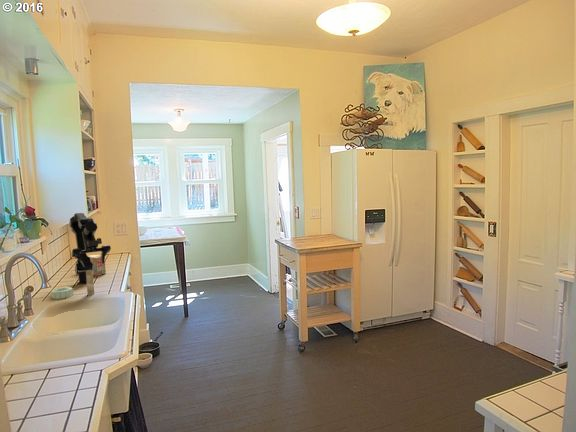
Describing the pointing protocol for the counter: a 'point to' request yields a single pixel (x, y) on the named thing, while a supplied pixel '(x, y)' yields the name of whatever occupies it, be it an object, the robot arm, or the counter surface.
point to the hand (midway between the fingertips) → (94, 265)
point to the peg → (90, 282)
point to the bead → (62, 292)
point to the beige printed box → (97, 265)
